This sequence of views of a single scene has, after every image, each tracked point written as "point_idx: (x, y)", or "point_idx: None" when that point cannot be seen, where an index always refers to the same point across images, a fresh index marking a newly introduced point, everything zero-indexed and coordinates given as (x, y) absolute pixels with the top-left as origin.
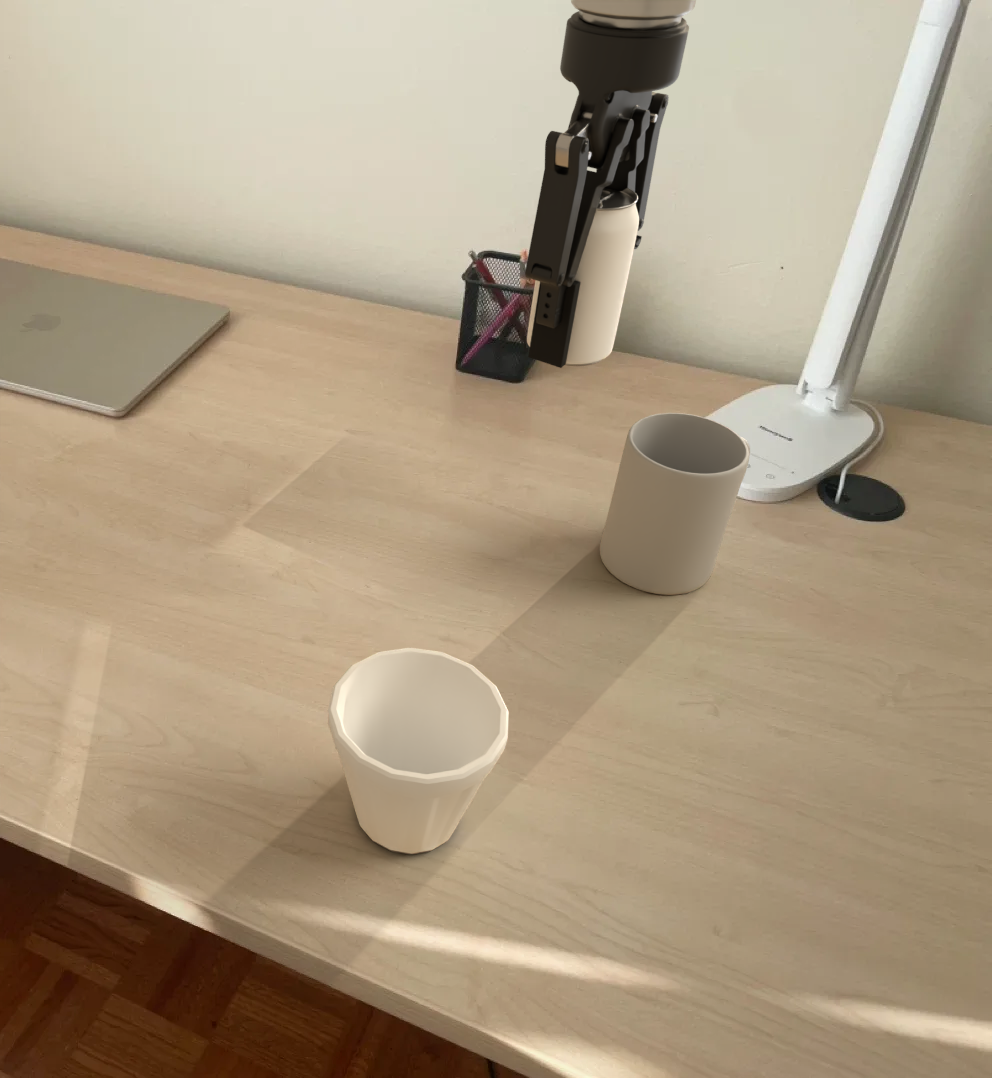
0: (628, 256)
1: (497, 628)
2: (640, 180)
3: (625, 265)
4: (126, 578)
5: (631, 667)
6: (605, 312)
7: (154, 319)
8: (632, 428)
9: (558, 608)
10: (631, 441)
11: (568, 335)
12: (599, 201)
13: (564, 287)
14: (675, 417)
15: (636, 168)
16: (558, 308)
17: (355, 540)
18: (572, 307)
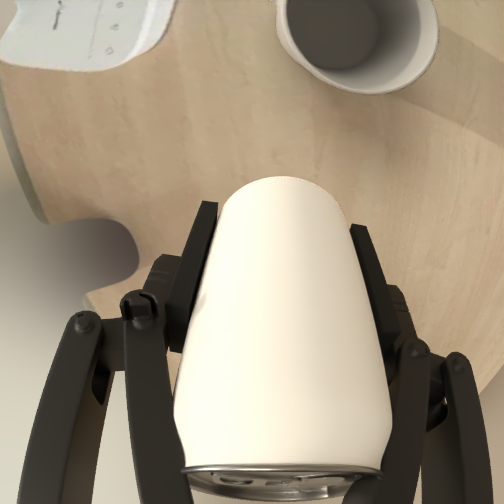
0: (313, 317)
1: (460, 130)
2: (75, 434)
3: (320, 301)
4: (453, 317)
5: (462, 35)
6: (337, 241)
7: None
8: (367, 92)
9: (426, 91)
10: (398, 88)
11: (371, 257)
12: (299, 478)
13: (400, 338)
14: (295, 43)
15: (76, 464)
16: (399, 310)
17: (400, 244)
18: (387, 296)
